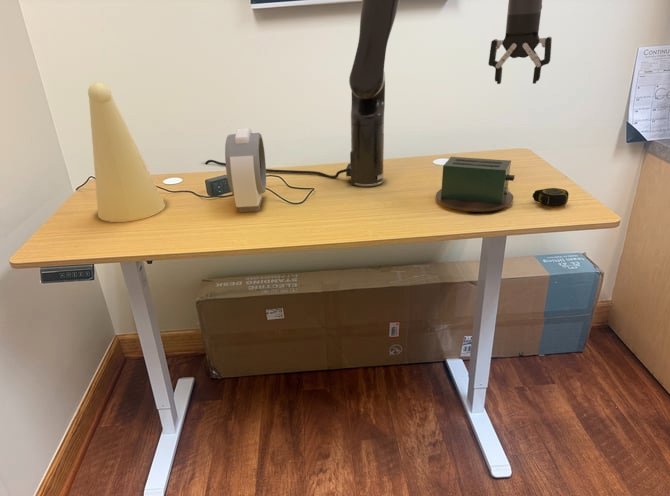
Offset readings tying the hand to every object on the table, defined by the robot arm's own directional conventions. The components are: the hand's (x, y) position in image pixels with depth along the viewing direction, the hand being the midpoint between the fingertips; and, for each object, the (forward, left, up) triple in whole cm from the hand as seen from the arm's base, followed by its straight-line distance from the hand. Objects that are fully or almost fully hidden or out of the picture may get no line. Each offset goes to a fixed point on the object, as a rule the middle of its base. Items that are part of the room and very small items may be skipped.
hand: (516, 83), depth 135 cm
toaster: (-9, -15, -26) cm, 32 cm away
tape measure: (+9, -16, -27) cm, 32 cm away
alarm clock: (-68, -19, -27) cm, 76 cm away
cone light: (-100, -27, -27) cm, 107 cm away
